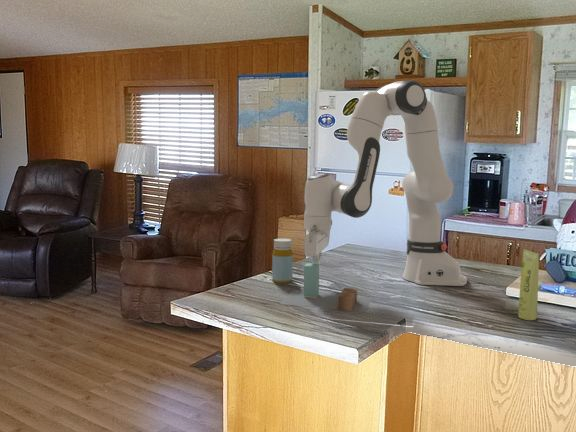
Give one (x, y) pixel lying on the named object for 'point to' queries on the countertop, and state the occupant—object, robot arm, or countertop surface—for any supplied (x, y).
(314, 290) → the teal block
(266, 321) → the countertop surface
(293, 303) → the mat
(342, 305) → the walnut block
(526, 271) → the tube
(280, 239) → the bottle
